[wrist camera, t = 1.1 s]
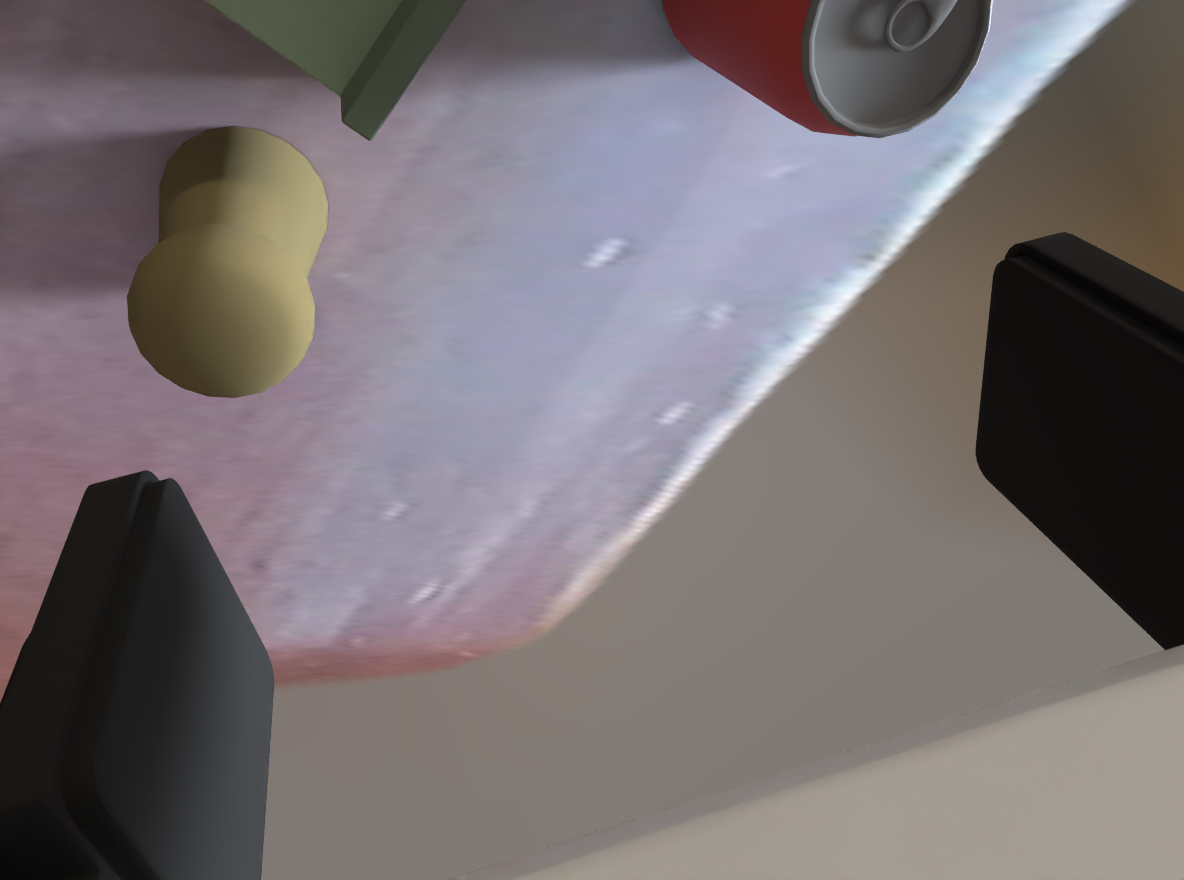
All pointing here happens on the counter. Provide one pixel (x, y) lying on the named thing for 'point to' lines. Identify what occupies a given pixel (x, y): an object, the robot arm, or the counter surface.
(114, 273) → the counter surface
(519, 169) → the counter surface
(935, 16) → the beer can
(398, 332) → the counter surface
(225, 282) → the cork
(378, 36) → the shelf
